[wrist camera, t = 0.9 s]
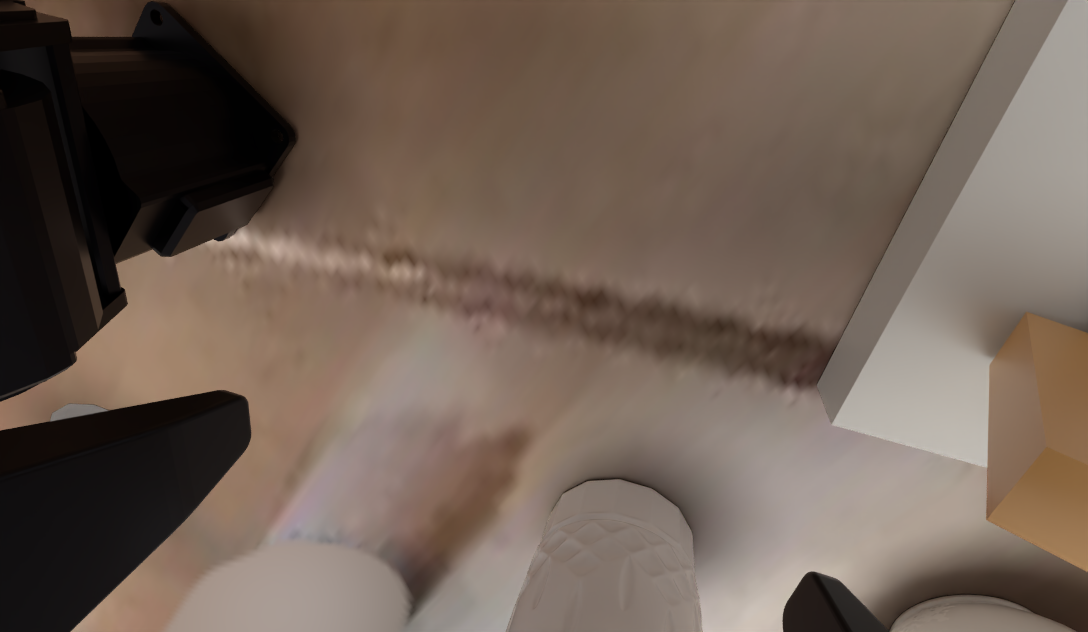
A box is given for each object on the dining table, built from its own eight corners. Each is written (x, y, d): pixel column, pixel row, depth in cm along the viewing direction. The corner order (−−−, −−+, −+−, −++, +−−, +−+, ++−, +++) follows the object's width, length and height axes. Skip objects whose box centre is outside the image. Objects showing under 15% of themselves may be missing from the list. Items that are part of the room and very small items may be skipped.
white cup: (689, 460, 23) (691, 711, 15) (718, 589, 26) (734, 861, 18) (519, 472, 26) (435, 692, 17) (563, 588, 29) (510, 826, 20)
